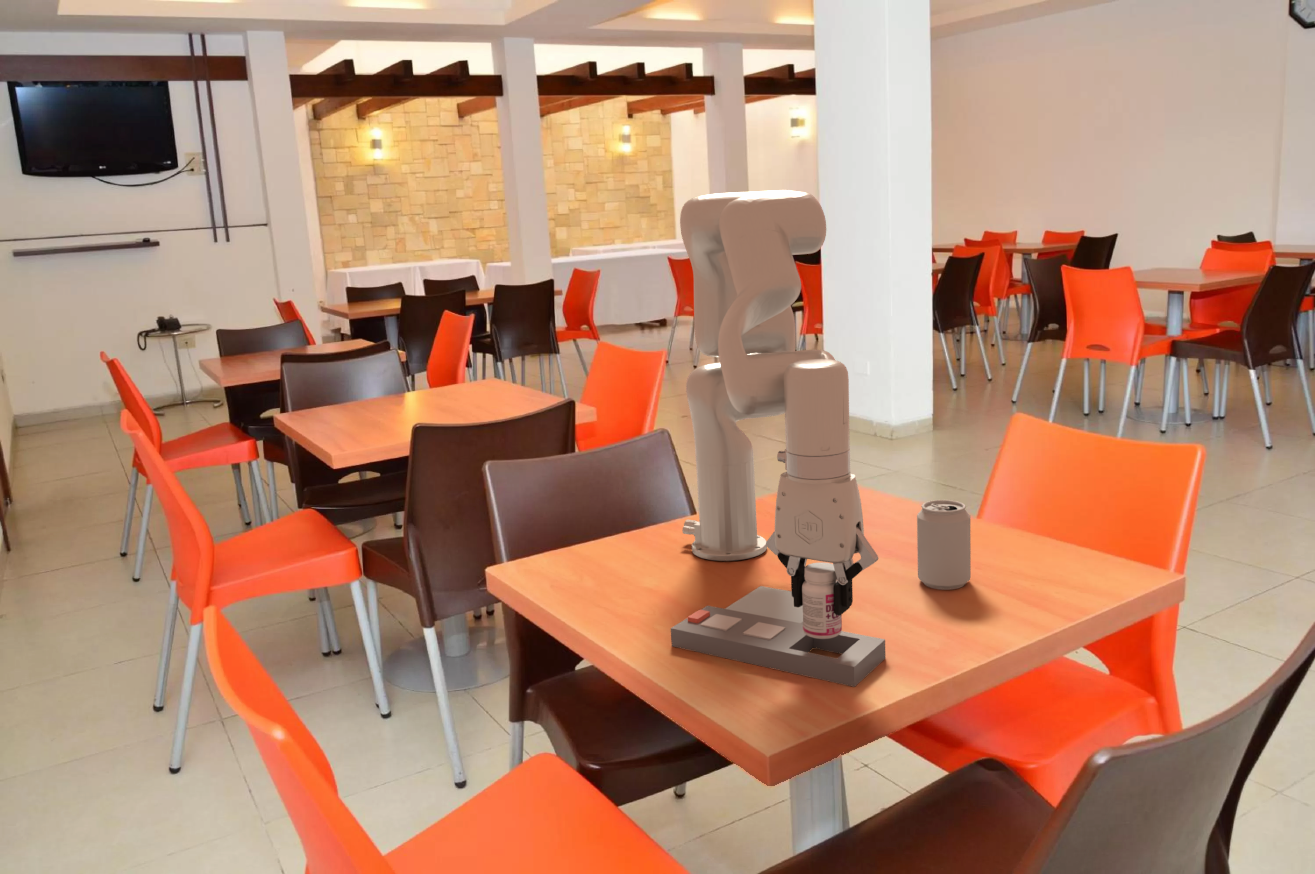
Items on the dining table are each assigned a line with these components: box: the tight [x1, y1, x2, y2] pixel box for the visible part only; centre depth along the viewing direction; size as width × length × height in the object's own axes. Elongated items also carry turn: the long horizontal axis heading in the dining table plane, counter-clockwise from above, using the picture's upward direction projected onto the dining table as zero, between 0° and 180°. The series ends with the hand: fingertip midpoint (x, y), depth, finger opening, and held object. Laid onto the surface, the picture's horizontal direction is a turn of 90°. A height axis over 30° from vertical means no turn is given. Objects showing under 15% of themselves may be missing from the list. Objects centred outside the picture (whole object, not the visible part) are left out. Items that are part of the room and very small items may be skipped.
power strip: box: [670, 605, 886, 688], centre depth 132 cm, size 26×9×3 cm, turn 55°
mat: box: [724, 585, 803, 624], centre depth 147 cm, size 12×12×1 cm
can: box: [916, 499, 972, 591], centre depth 151 cm, size 8×8×12 cm
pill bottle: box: [802, 562, 843, 639], centre depth 127 cm, size 5×5×8 cm
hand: (822, 605), depth 127 cm, fingers closed on pill bottle, 4 cm apart
